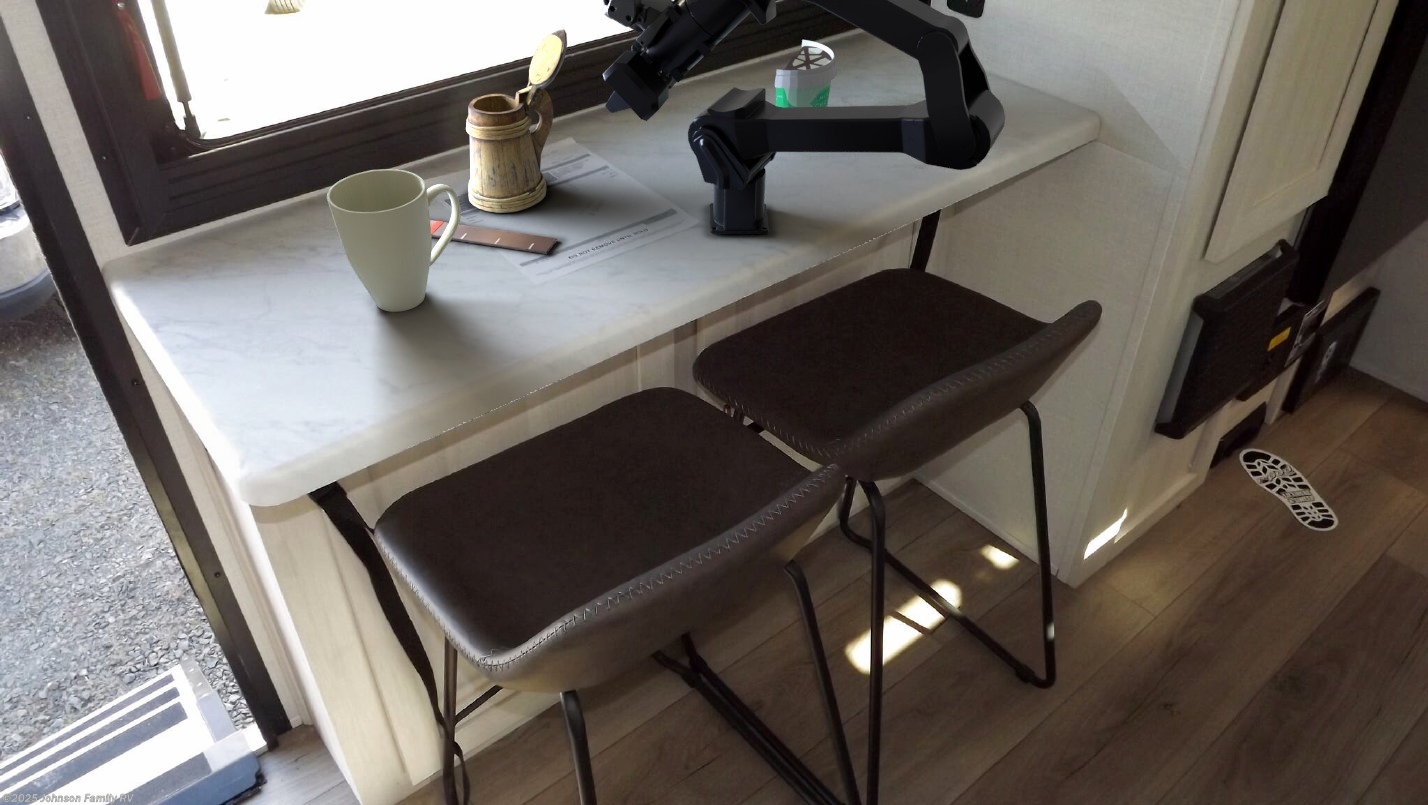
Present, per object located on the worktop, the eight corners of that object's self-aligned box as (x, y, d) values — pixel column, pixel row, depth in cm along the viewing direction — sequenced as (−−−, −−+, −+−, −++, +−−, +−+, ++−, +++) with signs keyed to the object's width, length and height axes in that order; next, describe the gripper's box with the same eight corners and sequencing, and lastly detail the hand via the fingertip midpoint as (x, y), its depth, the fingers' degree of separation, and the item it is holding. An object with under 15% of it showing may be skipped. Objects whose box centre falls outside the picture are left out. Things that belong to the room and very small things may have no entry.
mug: (434, 329, 100) (412, 218, 92) (338, 318, 101) (309, 208, 94) (474, 270, 108) (457, 165, 101) (385, 261, 110) (361, 156, 102)
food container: (818, 155, 130) (823, 77, 124) (771, 147, 132) (775, 70, 126) (843, 117, 139) (849, 43, 133) (799, 111, 141) (803, 37, 135)
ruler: (557, 240, 113) (556, 238, 113) (546, 254, 111) (546, 251, 111) (392, 216, 117) (392, 214, 117) (379, 229, 115) (378, 226, 115)
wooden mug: (593, 193, 122) (582, 41, 111) (483, 220, 117) (460, 63, 106) (564, 164, 128) (551, 17, 117) (458, 188, 123) (434, 36, 112)
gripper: (677, -73, 109) (586, 23, 118) (617, -22, 94) (520, 83, 104) (748, 10, 112) (655, 97, 121) (700, 71, 98) (599, 165, 107)
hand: (609, 108), depth 113 cm, fingers closed
